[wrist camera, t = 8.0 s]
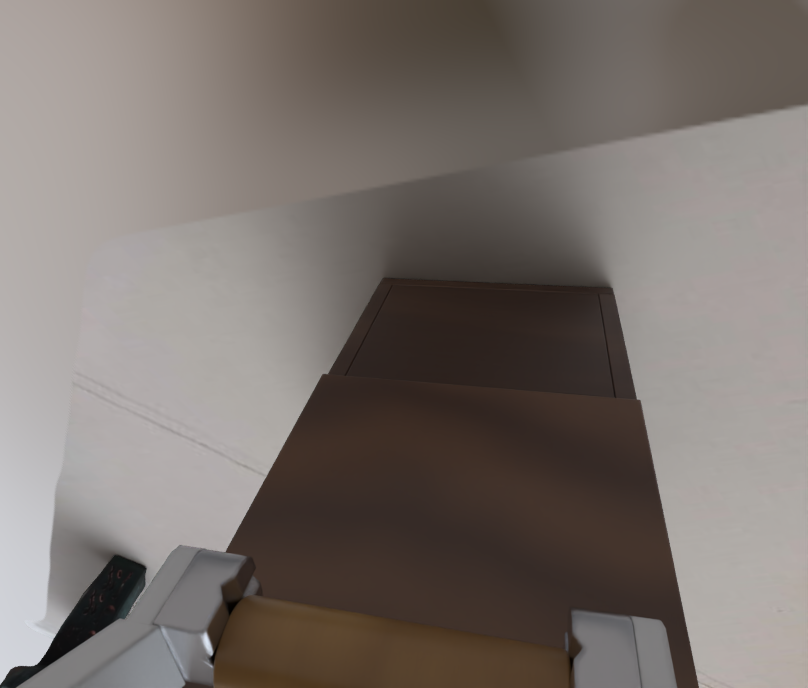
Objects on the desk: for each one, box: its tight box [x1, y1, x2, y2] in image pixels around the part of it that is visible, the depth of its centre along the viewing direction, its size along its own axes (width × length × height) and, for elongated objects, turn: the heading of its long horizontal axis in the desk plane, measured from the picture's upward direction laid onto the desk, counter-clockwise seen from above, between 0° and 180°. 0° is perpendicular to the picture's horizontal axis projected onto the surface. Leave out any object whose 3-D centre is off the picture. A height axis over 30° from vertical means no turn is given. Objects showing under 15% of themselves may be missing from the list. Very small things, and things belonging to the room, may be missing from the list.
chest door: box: [182, 374, 699, 688], centre depth 15 cm, size 15×13×5 cm
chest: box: [328, 278, 637, 400], centre depth 31 cm, size 15×13×10 cm
